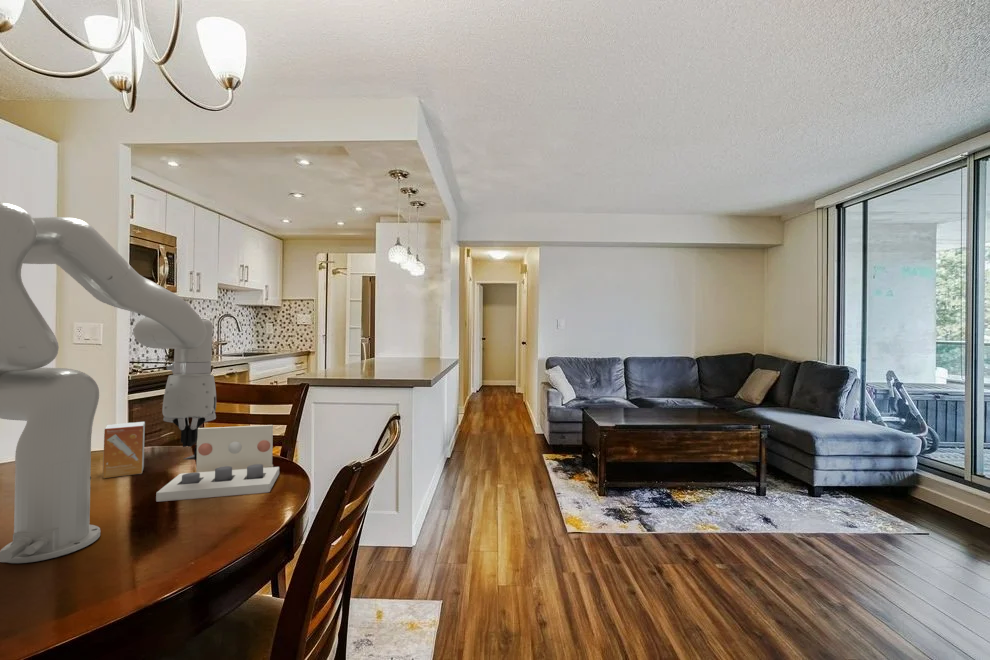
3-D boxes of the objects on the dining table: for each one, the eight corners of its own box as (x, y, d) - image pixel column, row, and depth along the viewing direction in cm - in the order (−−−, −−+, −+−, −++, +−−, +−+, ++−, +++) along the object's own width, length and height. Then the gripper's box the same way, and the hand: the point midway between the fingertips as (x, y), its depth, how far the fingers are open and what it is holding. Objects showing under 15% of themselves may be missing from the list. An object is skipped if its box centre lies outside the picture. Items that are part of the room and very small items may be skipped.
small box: (102, 479, 113) (103, 428, 113) (105, 472, 118) (106, 424, 118) (142, 473, 118) (143, 425, 118) (144, 467, 123) (145, 421, 123)
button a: (196, 489, 106) (196, 476, 106) (179, 490, 105) (179, 477, 105) (201, 484, 109) (201, 472, 109) (184, 485, 108) (185, 473, 108)
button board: (269, 492, 106) (269, 483, 106) (156, 501, 99) (156, 492, 99) (279, 474, 119) (279, 466, 119) (180, 481, 112) (180, 473, 112)
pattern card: (270, 472, 120) (271, 426, 120) (194, 478, 115) (195, 430, 115) (273, 468, 124) (273, 423, 124) (199, 473, 119) (200, 426, 119)
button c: (261, 479, 110) (261, 467, 110) (245, 481, 109) (245, 469, 109) (264, 475, 113) (264, 463, 113) (248, 476, 112) (248, 464, 112)
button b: (229, 482, 108) (229, 470, 108) (212, 483, 107) (213, 471, 107) (233, 477, 111) (233, 465, 111) (217, 478, 110) (217, 466, 110)
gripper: (149, 370, 101) (144, 450, 101) (222, 370, 106) (219, 447, 105) (162, 368, 108) (159, 443, 108) (231, 368, 113) (228, 440, 112)
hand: (188, 445), depth 106 cm, fingers closed
